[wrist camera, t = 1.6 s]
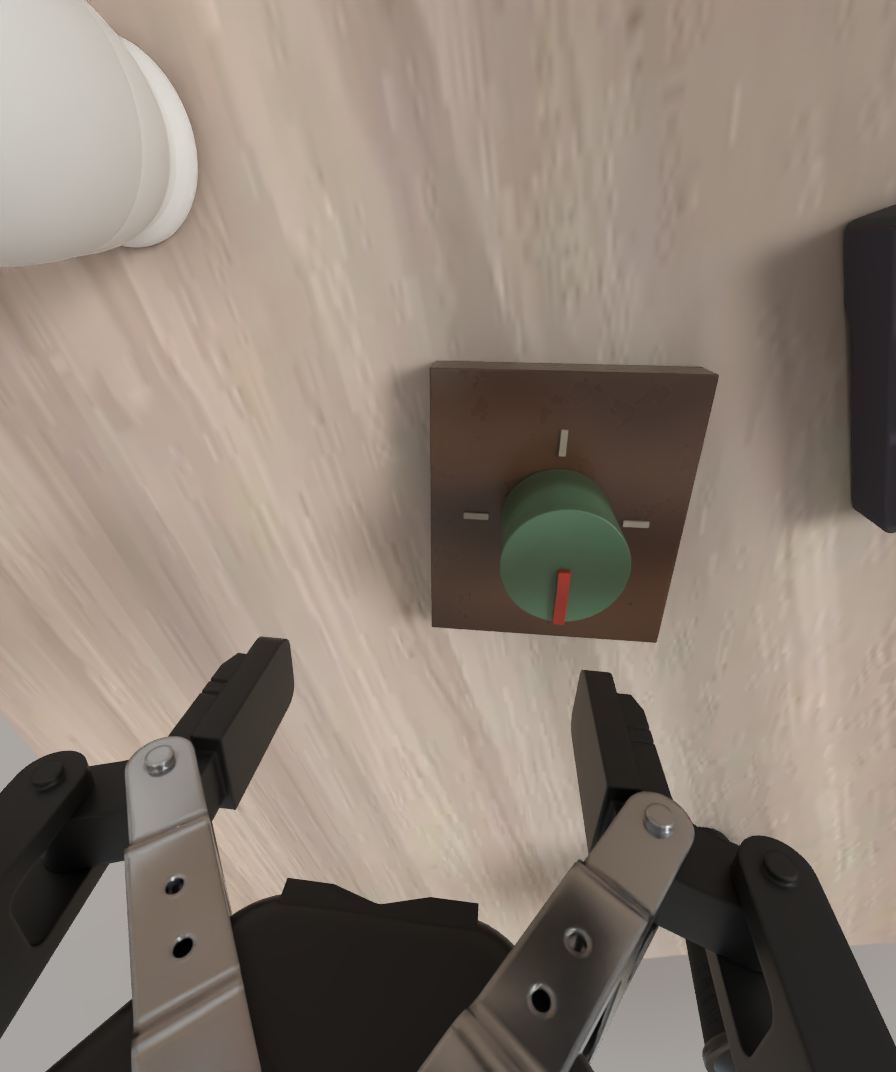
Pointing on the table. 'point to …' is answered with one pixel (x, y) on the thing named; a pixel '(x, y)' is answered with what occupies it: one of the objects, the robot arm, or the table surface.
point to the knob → (561, 547)
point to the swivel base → (560, 443)
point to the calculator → (873, 362)
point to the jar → (85, 138)
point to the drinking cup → (709, 1005)
